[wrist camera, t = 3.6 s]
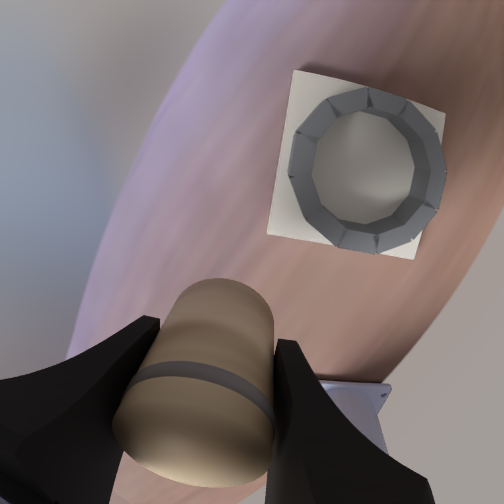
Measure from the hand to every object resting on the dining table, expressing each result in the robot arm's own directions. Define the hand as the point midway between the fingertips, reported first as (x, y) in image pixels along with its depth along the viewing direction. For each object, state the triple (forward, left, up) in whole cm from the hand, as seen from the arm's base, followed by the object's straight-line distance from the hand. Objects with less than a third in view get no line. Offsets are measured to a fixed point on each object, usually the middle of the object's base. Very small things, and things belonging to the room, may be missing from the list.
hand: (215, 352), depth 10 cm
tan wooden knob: (0, 0, -2) cm, 2 cm away
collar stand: (+7, -6, -9) cm, 12 cm away
